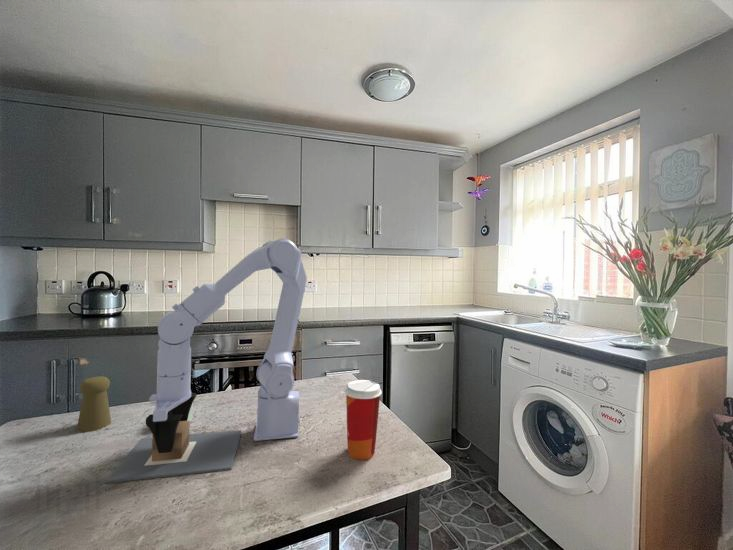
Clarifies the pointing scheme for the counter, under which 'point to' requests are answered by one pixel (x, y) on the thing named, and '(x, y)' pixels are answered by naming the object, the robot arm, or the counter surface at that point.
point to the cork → (94, 404)
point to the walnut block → (179, 444)
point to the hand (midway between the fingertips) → (172, 440)
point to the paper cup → (362, 417)
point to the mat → (198, 458)
